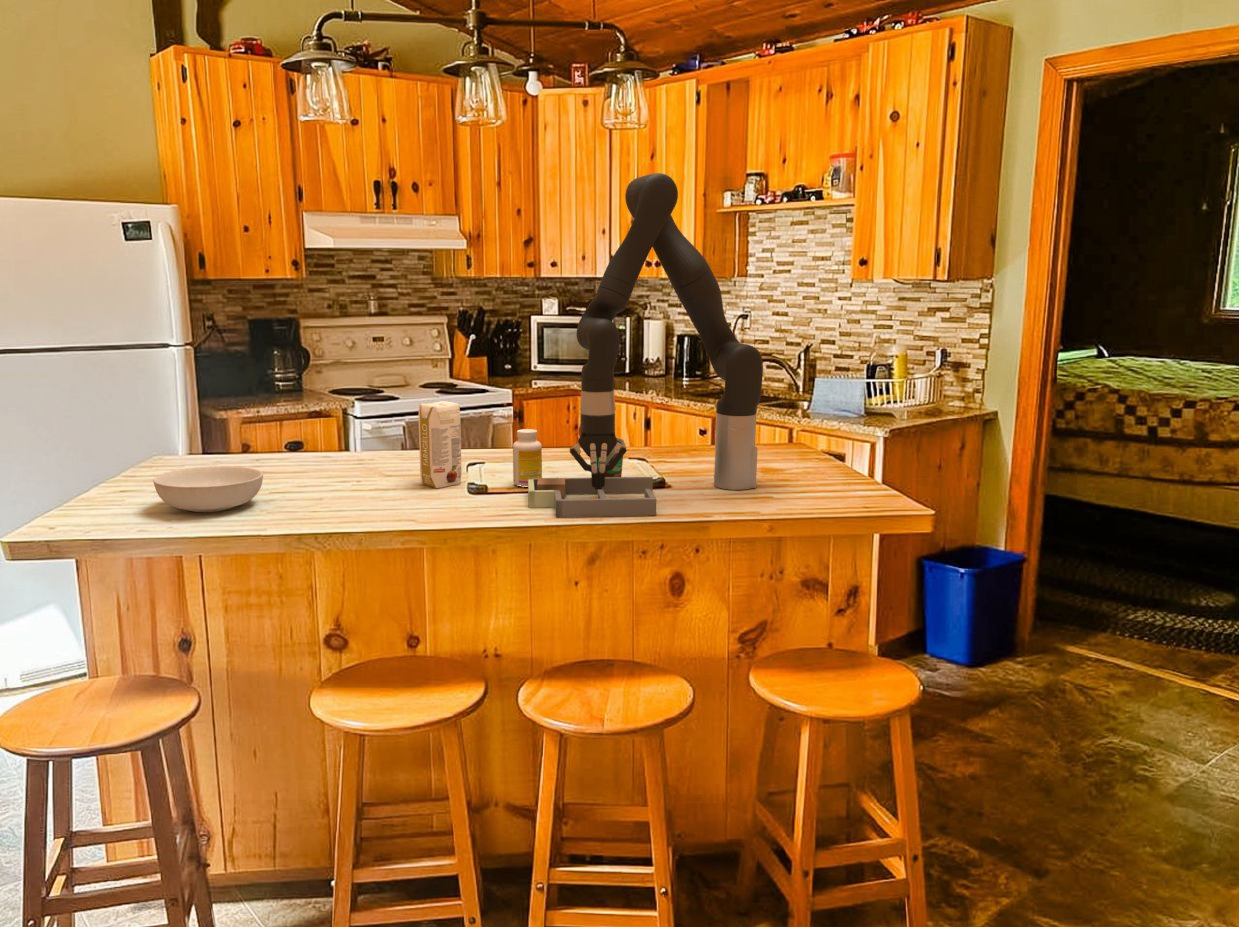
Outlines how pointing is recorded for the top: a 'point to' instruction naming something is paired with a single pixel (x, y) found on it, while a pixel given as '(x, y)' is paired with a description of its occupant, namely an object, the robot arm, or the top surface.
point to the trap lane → (601, 504)
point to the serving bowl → (208, 487)
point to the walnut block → (552, 485)
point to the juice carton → (440, 444)
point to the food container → (618, 468)
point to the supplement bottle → (526, 457)
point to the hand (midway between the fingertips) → (597, 489)
